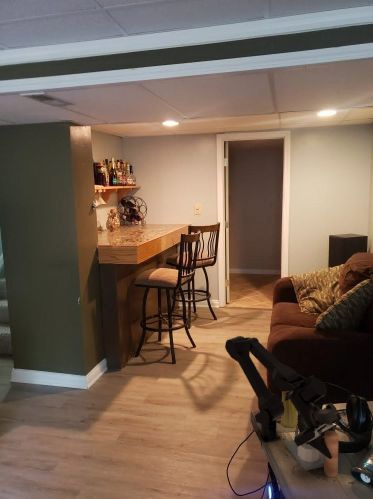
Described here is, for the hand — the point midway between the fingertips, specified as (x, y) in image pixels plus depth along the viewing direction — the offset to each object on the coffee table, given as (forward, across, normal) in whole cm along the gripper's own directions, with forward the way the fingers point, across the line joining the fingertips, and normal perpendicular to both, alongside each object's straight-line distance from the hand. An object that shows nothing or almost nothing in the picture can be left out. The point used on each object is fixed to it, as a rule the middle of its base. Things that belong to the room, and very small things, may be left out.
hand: (335, 455), depth 120 cm
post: (+4, 0, +6) cm, 7 cm away
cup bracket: (-3, +2, +12) cm, 13 cm away
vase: (-14, +12, +24) cm, 30 cm away
